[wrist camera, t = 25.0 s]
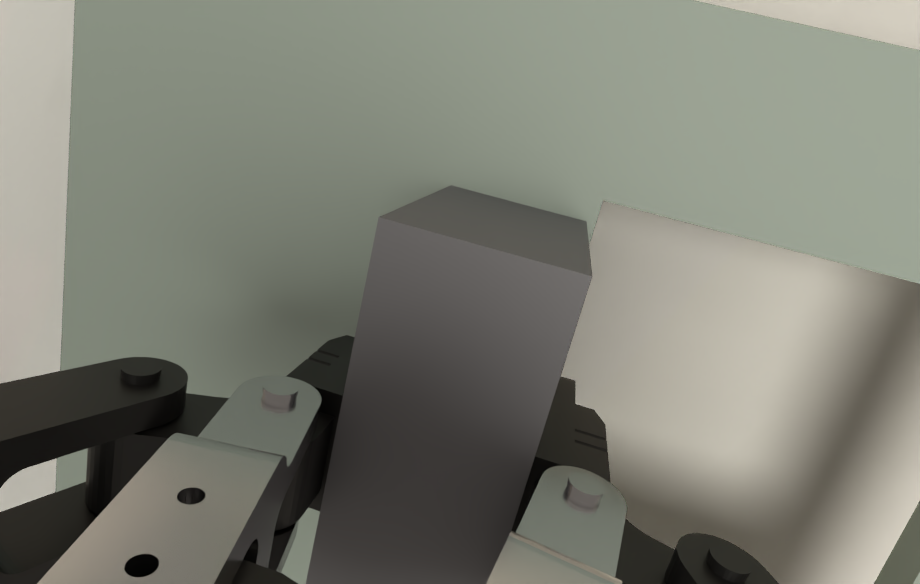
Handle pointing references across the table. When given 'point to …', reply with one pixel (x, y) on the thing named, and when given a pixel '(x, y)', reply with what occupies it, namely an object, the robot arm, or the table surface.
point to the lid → (445, 216)
